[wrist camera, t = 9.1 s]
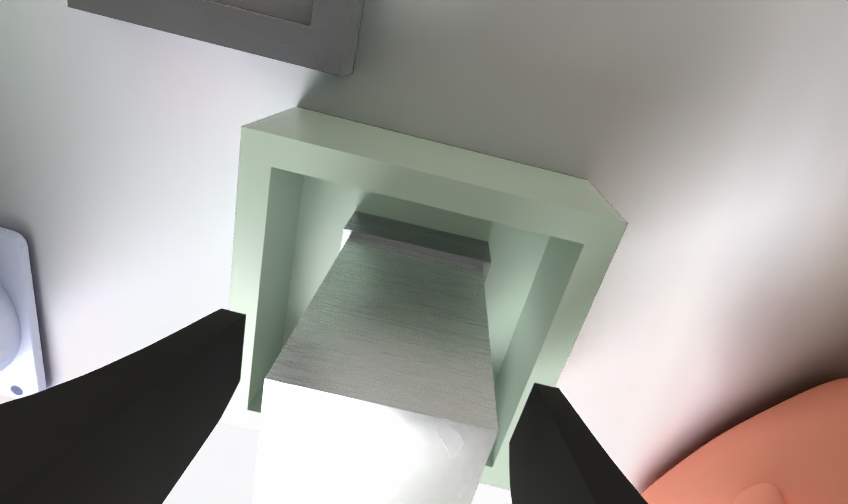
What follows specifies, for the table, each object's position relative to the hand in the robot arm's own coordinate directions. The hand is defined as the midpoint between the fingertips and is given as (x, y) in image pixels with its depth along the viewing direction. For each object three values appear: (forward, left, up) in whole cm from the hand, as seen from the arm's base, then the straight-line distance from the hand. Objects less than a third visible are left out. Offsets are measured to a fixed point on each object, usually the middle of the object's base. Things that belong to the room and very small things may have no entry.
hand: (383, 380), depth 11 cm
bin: (0, 0, -6) cm, 6 cm away
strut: (0, 0, -5) cm, 5 cm away
